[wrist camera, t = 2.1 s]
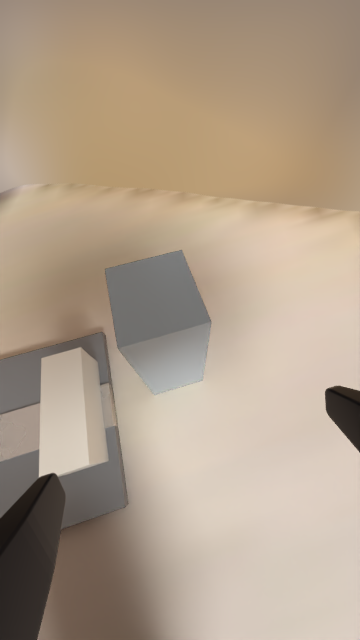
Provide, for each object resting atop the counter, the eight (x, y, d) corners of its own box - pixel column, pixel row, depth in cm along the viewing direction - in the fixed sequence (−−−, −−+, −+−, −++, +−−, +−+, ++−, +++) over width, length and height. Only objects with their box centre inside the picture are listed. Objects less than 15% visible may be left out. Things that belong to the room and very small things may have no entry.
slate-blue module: (202, 380, 20) (211, 321, 11) (154, 395, 20) (117, 348, 10) (186, 332, 23) (181, 249, 13) (143, 345, 22) (104, 268, 13)
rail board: (128, 503, 16) (107, 523, 12) (-96, 582, 15) (-202, 633, 11) (105, 335, 23) (87, 313, 19) (-50, 378, 21) (-105, 363, 17)
